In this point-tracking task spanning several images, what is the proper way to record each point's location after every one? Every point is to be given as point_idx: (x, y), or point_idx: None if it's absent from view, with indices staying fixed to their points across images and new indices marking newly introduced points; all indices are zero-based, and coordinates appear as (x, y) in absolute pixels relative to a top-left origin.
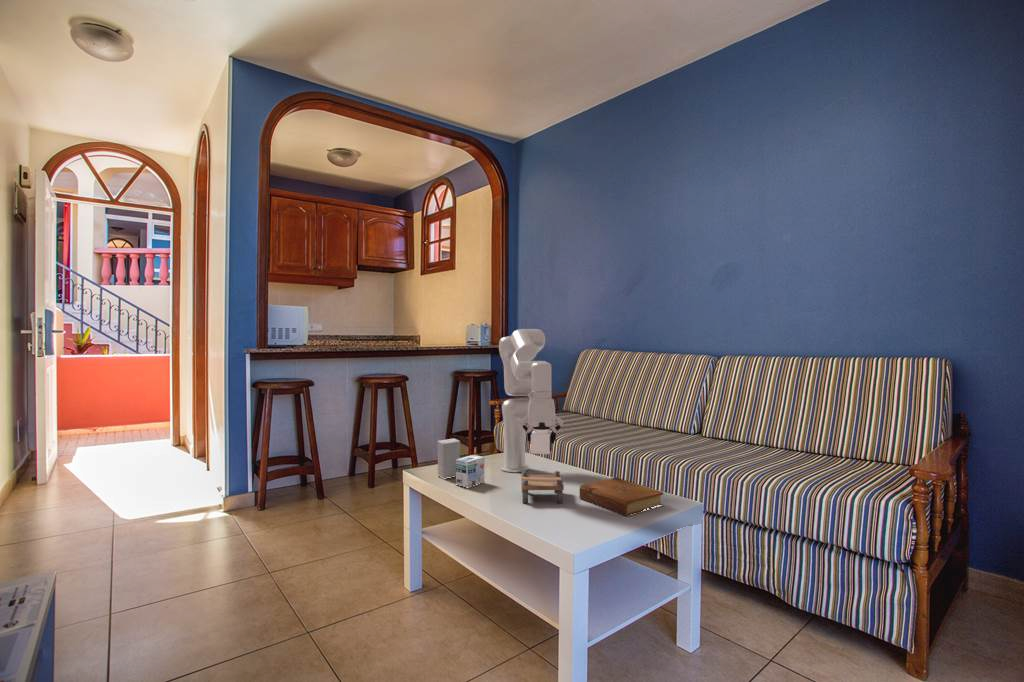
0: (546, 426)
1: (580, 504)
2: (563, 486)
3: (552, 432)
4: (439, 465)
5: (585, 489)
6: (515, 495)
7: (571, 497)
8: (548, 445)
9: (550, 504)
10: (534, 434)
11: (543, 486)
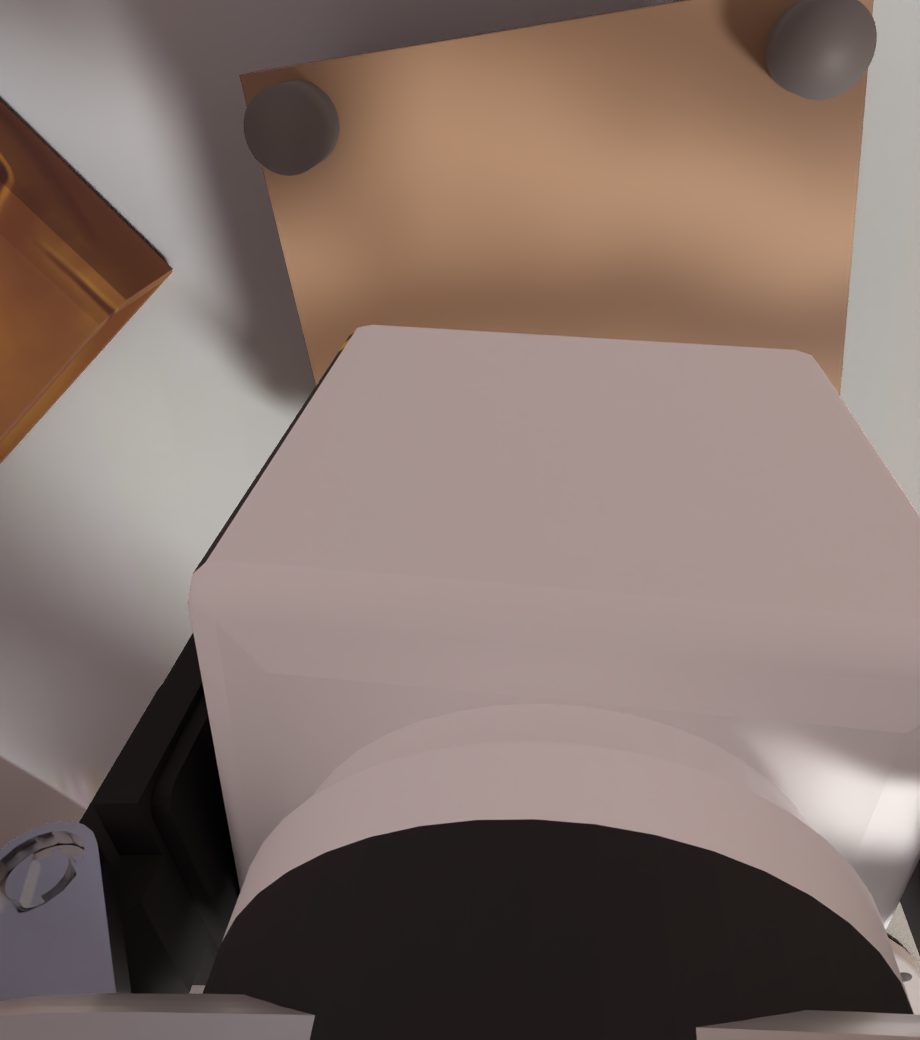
0: (245, 1006)
1: (132, 77)
2: (245, 76)
3: (171, 868)
4: None
5: (43, 228)
6: (856, 321)
7: (264, 313)
8: (342, 404)
9: (454, 25)
10: (850, 650)
11: (526, 28)
